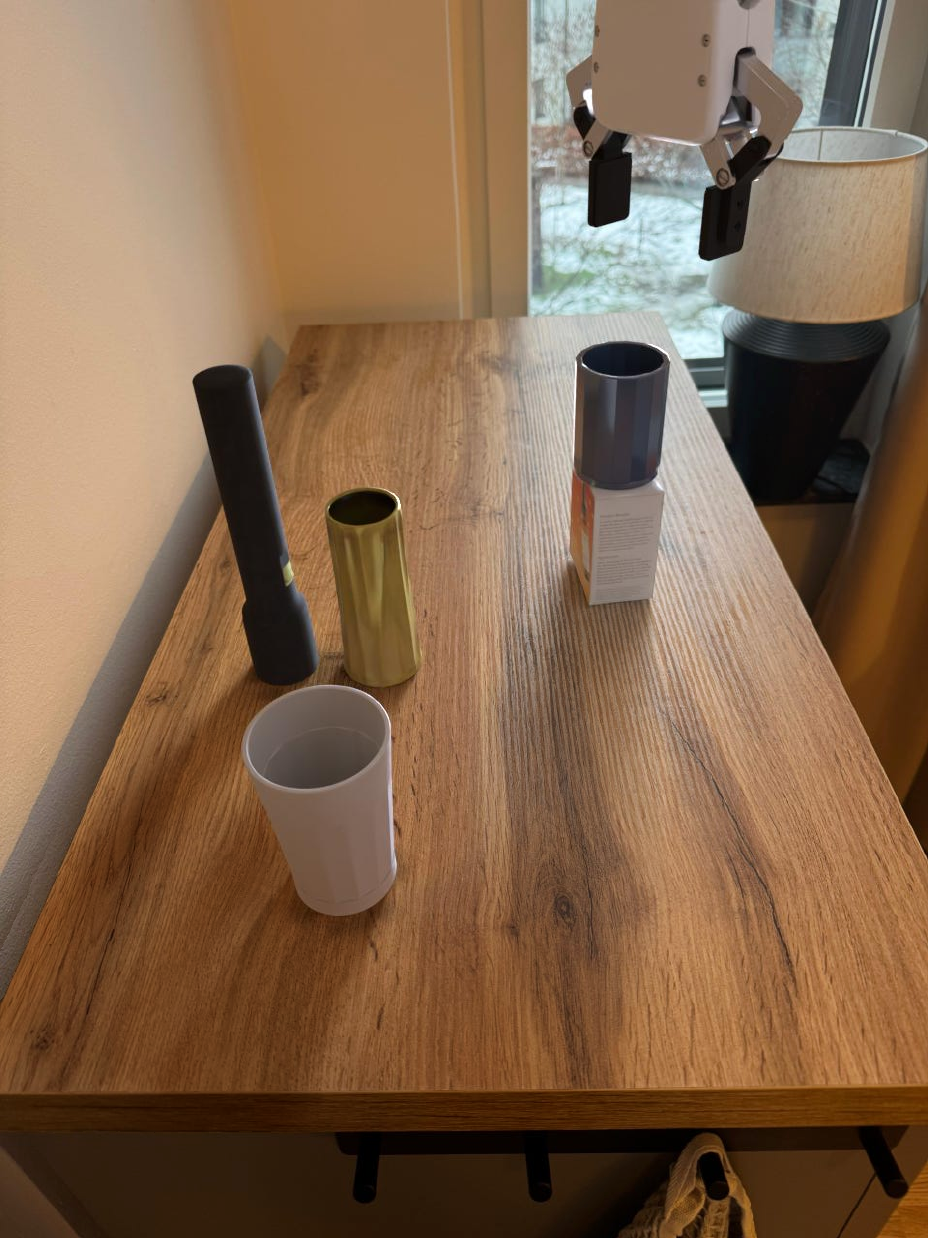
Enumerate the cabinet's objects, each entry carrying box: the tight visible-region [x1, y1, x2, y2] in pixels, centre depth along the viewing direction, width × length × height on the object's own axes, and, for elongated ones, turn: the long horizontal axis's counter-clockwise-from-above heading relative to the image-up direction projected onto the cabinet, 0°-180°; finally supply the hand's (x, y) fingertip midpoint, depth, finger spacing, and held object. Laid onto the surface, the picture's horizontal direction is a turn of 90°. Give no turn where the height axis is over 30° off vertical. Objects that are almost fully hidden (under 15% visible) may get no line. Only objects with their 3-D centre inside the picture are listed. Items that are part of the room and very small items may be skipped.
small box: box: [568, 469, 665, 606], centre depth 76 cm, size 8×6×10 cm
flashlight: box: [191, 363, 320, 687], centre depth 64 cm, size 5×24×5 cm
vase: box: [324, 486, 423, 688], centre depth 67 cm, size 6×6×14 cm
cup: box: [240, 684, 398, 917], centre depth 53 cm, size 8×8×12 cm
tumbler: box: [572, 340, 671, 490], centre depth 69 cm, size 7×7×9 cm
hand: (661, 237), depth 57 cm, fingers open, 9 cm apart
